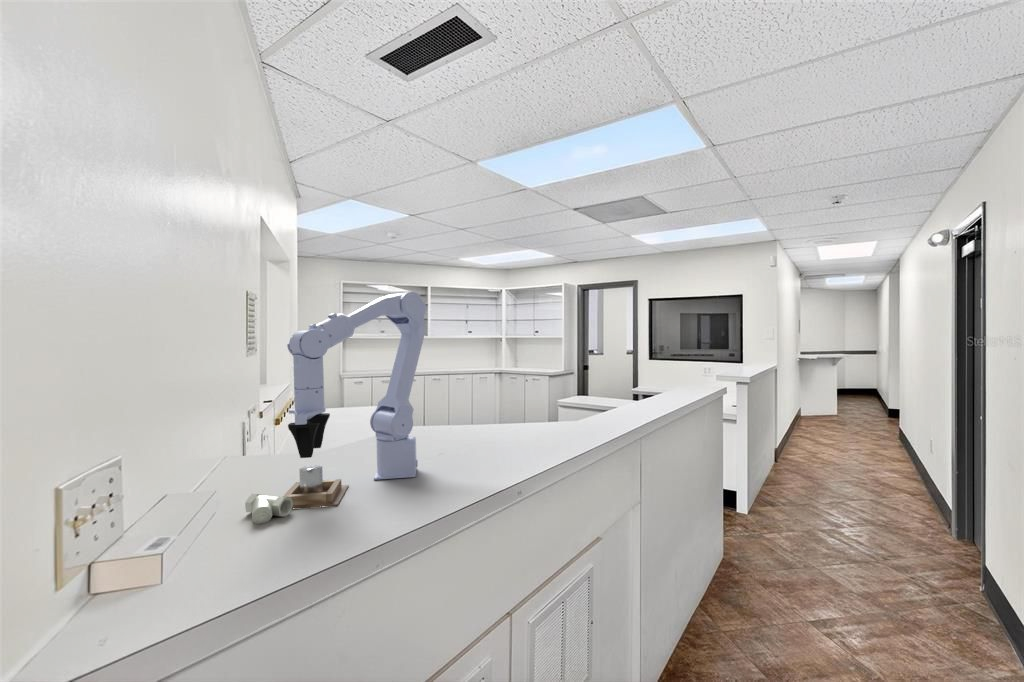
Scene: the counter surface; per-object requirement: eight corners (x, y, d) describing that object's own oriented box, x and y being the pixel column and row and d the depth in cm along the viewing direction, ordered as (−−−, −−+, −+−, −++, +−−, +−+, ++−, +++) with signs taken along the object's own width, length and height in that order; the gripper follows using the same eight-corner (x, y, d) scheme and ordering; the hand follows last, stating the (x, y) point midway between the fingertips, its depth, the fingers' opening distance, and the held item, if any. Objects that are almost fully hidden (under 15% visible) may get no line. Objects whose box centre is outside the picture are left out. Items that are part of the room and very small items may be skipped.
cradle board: (348, 489, 105) (348, 476, 105) (337, 509, 93) (337, 495, 93) (291, 493, 103) (291, 480, 103) (273, 514, 91) (272, 500, 91)
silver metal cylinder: (325, 492, 100) (325, 464, 100) (319, 499, 96) (318, 470, 96) (304, 493, 100) (303, 465, 100) (297, 501, 95) (296, 471, 95)
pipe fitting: (265, 529, 84) (293, 512, 90) (263, 509, 84) (291, 493, 90) (231, 525, 86) (260, 508, 93) (228, 504, 86) (258, 489, 92)
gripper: (298, 384, 104) (300, 445, 105) (277, 393, 90) (279, 463, 90) (332, 383, 106) (333, 443, 106) (316, 391, 91) (318, 460, 92)
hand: (311, 452), depth 98 cm, fingers open, 7 cm apart
